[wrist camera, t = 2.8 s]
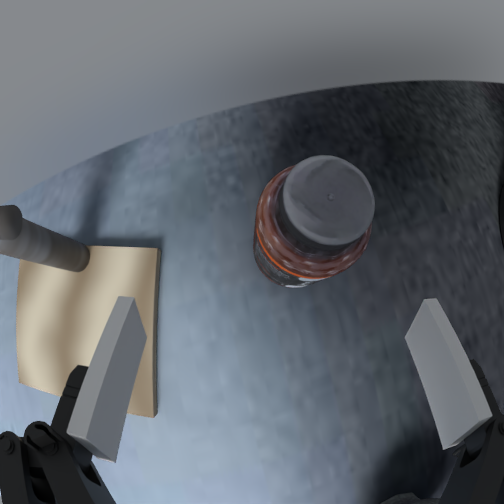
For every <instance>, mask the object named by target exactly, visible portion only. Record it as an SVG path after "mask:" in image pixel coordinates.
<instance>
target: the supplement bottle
mask: <svg viewBox="0 0 504 504" xmlns="http://www.w3.org/2000/svg"><path fill="white" fill-rule="evenodd" d="M374 211H375V199H374V195H373V191H372V188H371V185H370V183H369V182H368V180H367V178H366V177H365V176H364V174H363V173H362V172H361V171H360V170H359V169H358V168H357V167H355V166H354V165H352V164H351V163H349V162H347V160H344V159H341V158H339V157H335V156H331V155H329V156H328V155H319V156H312V157H309V158H307V159H305V160H303V161H301V162H299V163H298V164H297V165H294V166H290V167H288V168H286V169H284V170H283V171H281V172H279V173H278V174H277V175H276V176H274V177H273V178H272V179H271V180H270V181H269V183H268V184H267V185H266V187H265V188H264V190H263V192H262V194H261V196H260V199H259V202H258V205H257V211H256V219H255V230H254V245H253V249H254V257H255V260H256V263H257V265H258V267H259V268H260V270H261V271H262V273H263V274H264V275H265V276H266V277H267V278H268V279H270V280H271V281H272V282H274V283H276V284H278V285H281V286H285V287H303V286H307V285H310V284H313V283H315V282H318V281H321V280H323V279H326V278H329V277H332V276H334V275H336V274H338V273H340V272H342V271H344V270H346V269H347V268H349V267H350V266H351V265H353V264H354V263H355V262H356V261H357V260H358V259H359V258H360V256H361V255H362V254H363V252H364V251H365V249H366V247H367V244H368V241H369V238H370V235H371V228H372V219H373V216H374Z"/></svg>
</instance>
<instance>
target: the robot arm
mask: <svg viewBox="0 0 504 504" xmlns="http://www.w3.org/2000/svg"><path fill="white" fill-rule="evenodd" d="M499 213H500V227H501V234H502V240H503V245H504V185H503V188H502V191H501V196H500V208H499ZM405 339H406V342H407V344H408V347H409V349H410V352H411V354H412V357H413V360H414V362H415V365H416V368H417V370H418V373H419V376H420V378H421V381H422V384H423V387H424V390H425V393H426V396H427V398H428V401H429V404H430V408H431V411H432V414H433V417H434V420H435V423H436V427H437V430H438V433H439V437H440V440H441V444H442V447H443V450H444V449H447V448H450V447H453V446H455V445H457V444H459V443H460V442H461V441H463V440H464V441H465V444H464V445H462V446H461V447H460V448H458V449H457V450H456V451H455V452H454V453H453V455H456V454H457V453H459V452H460V454H459V455H458V456H457V457H458V459H457V462H456V464H455V467H454V469H453V472H452V474H451V477H450V479H449V481H448V484H447V486H446V488H445V490H444V492H443V494H442V497H441V499H440V501H439V503H438V504H504V415H502V414H501V412H500V410H499V408H498V405H497V403H496V400H495V398H494V396H493V393H492V391H491V389H490V386H488V382H487V379H485V375H484V373H483V371H482V369H481V367H480V366H479V365H478V363H477V362H476V361H475V360H474V359H473V360H469V359H468V357H467V355H466V353H465V351H464V349H463V347H462V345H461V343H460V341H459V339H458V337H457V335H456V333H455V331H454V329H453V328H452V326H451V324H450V322H449V320H448V318H447V316H446V315H445V313H444V311H443V309H442V307H441V306H440V304H439V302H438V300H437V299H436V298H435V299H424V300H423V303H422V305H421V307H420V309H419V311H418V313H417V315H416V317H415V319H414V321H413V323H412V325H411V327H410V329H409V331H408V332H407V334H406V336H405ZM146 340H147V336H146V333H145V330H144V327H143V324H142V321H141V318H140V314H139V311H138V308H137V305H136V302H135V298H134V297H125V296H118V298H117V301H116V303H115V305H114V307H113V309H112V312H111V314H110V316H109V319H108V321H107V323H106V325H105V328H104V330H103V333H102V335H101V337H100V340H99V342H98V345H97V347H96V350H95V352H94V355H93V357H92V360H91V362H90V365H89V367H88V366H83V365H77V366H76V367H75V368H74V370H73V371H72V372H71V373H70V374H69V377H68V379H67V382H66V387H64V390H63V392H62V396H61V398H60V401H59V403H58V406H57V409H56V412H55V415H54V418H53V420H52V423H51V426H49V425H48V424H47V423H45V422H42V421H36V422H33V423H31V424H30V425H28V427H27V428H26V430H25V433H24V437H18V436H17V435H16V434H14V433H13V432H10V431H6V432H3V433H2V434H0V491H1V497H2V502H3V504H116V502H115V501H114V499H113V498H112V496H111V494H110V493H109V491H108V489H107V487H106V486H105V484H104V482H103V480H102V479H101V477H100V475H99V473H98V471H97V469H96V468H95V466H94V464H93V462H92V461H91V459H92V455H94V456H96V457H97V458H98V459H102V460H105V461H109V462H113V463H116V458H117V454H118V449H119V444H120V440H121V435H122V431H123V427H124V422H125V418H126V414H127V410H128V406H129V402H130V398H131V394H132V390H133V387H134V383H135V379H136V375H137V372H138V368H139V365H140V361H141V358H142V354H143V351H144V347H145V344H146Z"/></svg>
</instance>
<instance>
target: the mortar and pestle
mask: <svg viewBox="0 0 504 504" xmlns="http://www.w3.org/2000/svg"><path fill="white" fill-rule="evenodd" d="M439 501H440V498H427V499H421V500H420V499H419V498H418V497H416V496H415V495H414V494H413V493H406V494H398V495H395V496H393V497H391V498H390V499H388V500H386V501H384V502H382V503H380V504H438V503H439Z"/></svg>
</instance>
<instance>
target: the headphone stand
mask: <svg viewBox="0 0 504 504" xmlns="http://www.w3.org/2000/svg"><path fill="white" fill-rule="evenodd" d="M0 254H3V255H7V256H11V257H14V258H18V259H20V265H19V276H18V290H17V314H16V337H17V362H18V375H19V383H22V384H24V385H27V386H30V387H33V388H35V389H38V390H41V391H44V392H47V393H50V394H53V395H57V396H60V397H61V396H62V392H63V390H64V387H66V382H67V379H68V377H69V374H70V373H71V372H72V371H73V370H74V368H75V367H76V366H77V365H83V366H88V367H89V365H90V362H91V360H92V357H93V355H94V352H95V350H96V347H97V345H98V342H99V340H100V337H101V335H102V333H103V330H104V328H105V325H106V323H107V321H108V319H109V316H110V314H111V312H112V309H113V307H114V305H115V303H116V301H117V298H118V296H125V297H134V298H135V302H136V305H137V308H138V311H139V314H140V318H141V321H142V324H143V327H144V330H145V333H146V336H147V340H146V344H145V347H144V351H143V354H142V358H141V361H140V365H139V368H138V372H137V375H136V379H135V383H134V387H133V390H132V394H131V398H130V402H129V406H128V410H127V413H128V414H134V415H139V416H145V417H151V418H154V417H155V416H156V415H157V388H156V342H157V309H158V288H159V272H160V259H161V250H160V249H158V248H139V247H112V246H86V245H84V244H83V243H80V242H78V241H75V240H73V239H70V238H68V237H65V236H63V235H61V234H58V233H56V232H54V231H51V230H49V229H47V228H44V227H42V226H40V225H37V224H35V223H33V222H30V221H28V220H26V219H24V218H22V213H21V211H20V209H19V208H18V207H17V206H15V205H6V206H0Z"/></svg>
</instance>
